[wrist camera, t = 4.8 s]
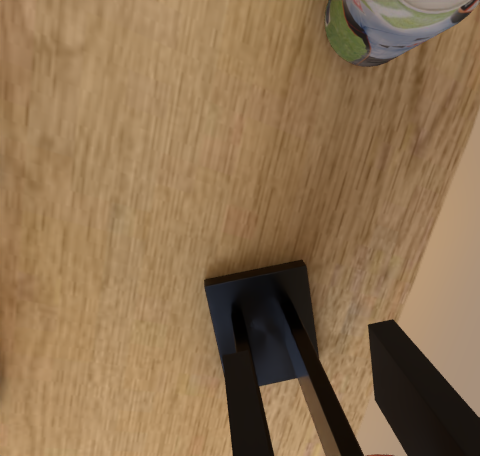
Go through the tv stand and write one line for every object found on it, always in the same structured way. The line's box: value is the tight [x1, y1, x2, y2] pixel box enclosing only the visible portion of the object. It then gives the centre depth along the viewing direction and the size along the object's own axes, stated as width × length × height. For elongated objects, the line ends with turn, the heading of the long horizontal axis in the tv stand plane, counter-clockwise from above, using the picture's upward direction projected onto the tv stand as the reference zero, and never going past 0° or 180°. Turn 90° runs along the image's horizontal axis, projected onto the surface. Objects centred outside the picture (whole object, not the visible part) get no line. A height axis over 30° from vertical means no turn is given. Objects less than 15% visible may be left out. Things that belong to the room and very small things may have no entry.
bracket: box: [204, 260, 364, 456], centre depth 25 cm, size 10×8×22 cm
